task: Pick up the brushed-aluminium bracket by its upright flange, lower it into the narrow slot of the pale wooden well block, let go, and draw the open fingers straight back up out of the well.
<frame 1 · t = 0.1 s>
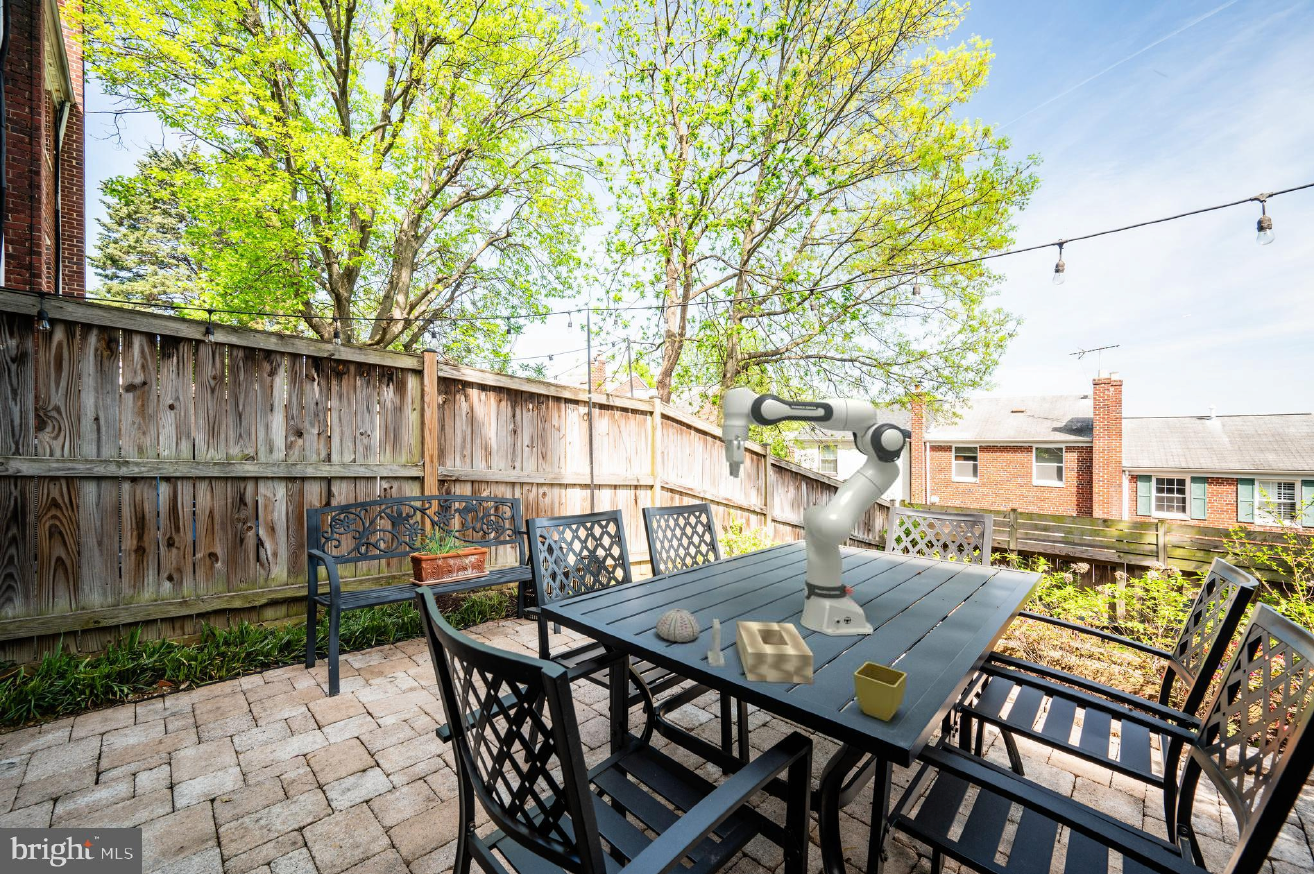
hand: (734, 476, 168), 48 cm above the table, tool pointing down, fingers open, 8 cm apart
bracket: (715, 660, 136), on the table
sea urchin shell: (677, 637, 153), on the table
flower pot: (879, 715, 111), on the table
well block: (771, 662, 136), on the table
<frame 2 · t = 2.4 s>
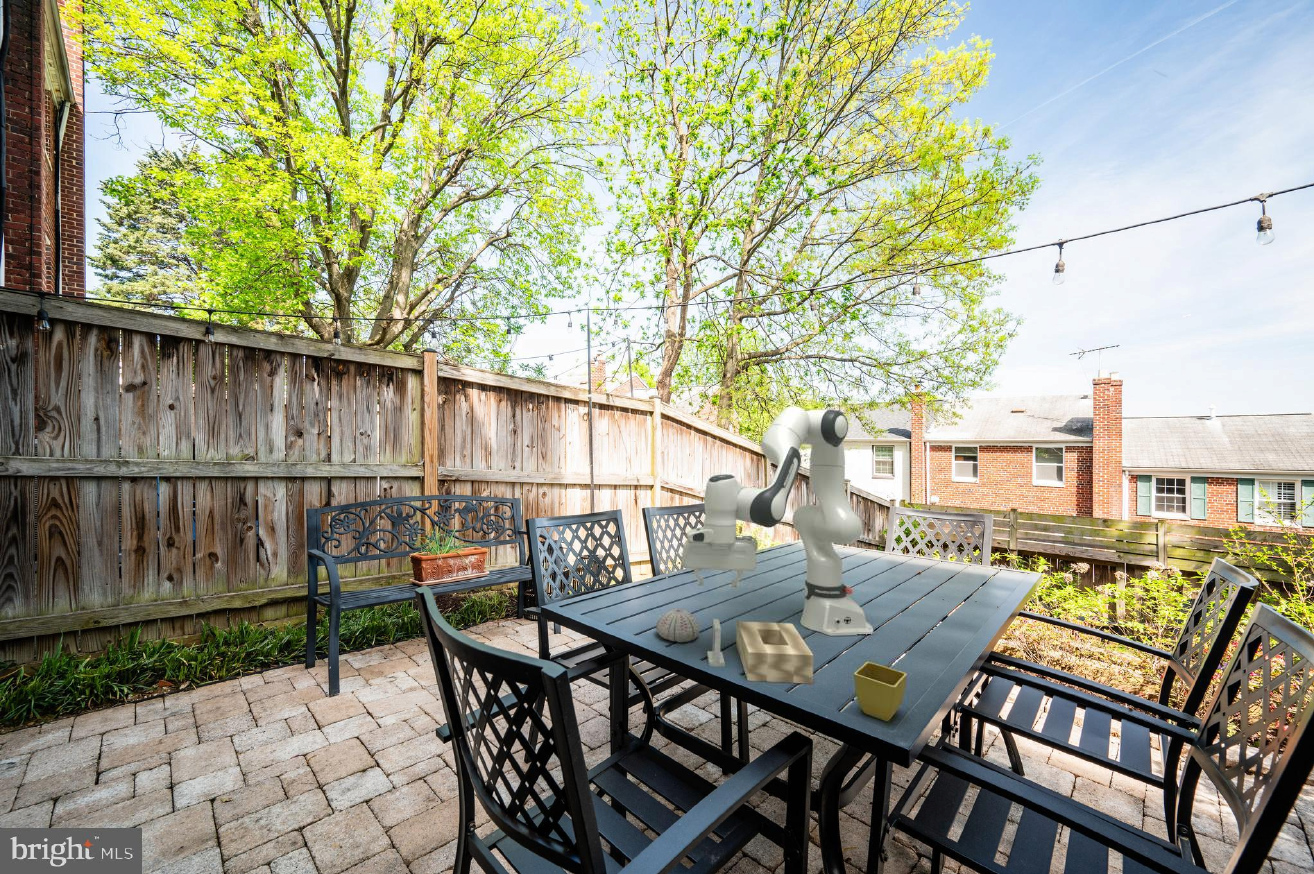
hand: (717, 585, 137), 20 cm above the table, tool pointing down, fingers open, 8 cm apart
nothing on the table moved.
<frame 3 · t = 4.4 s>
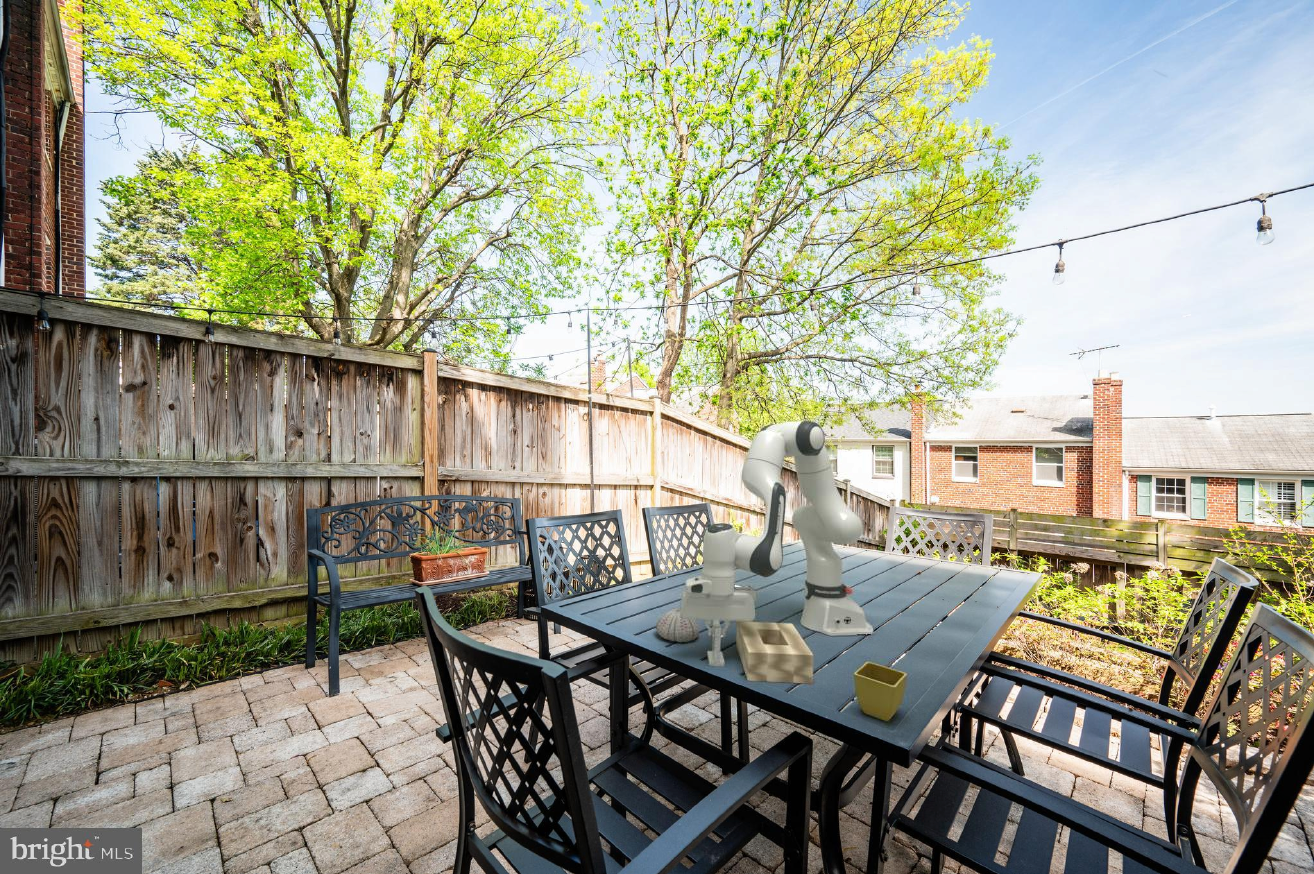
hand: (716, 635, 136), 7 cm above the table, tool pointing down, fingers closed on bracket
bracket: (715, 660, 136), on the table, touching gripper
everything else where it was.
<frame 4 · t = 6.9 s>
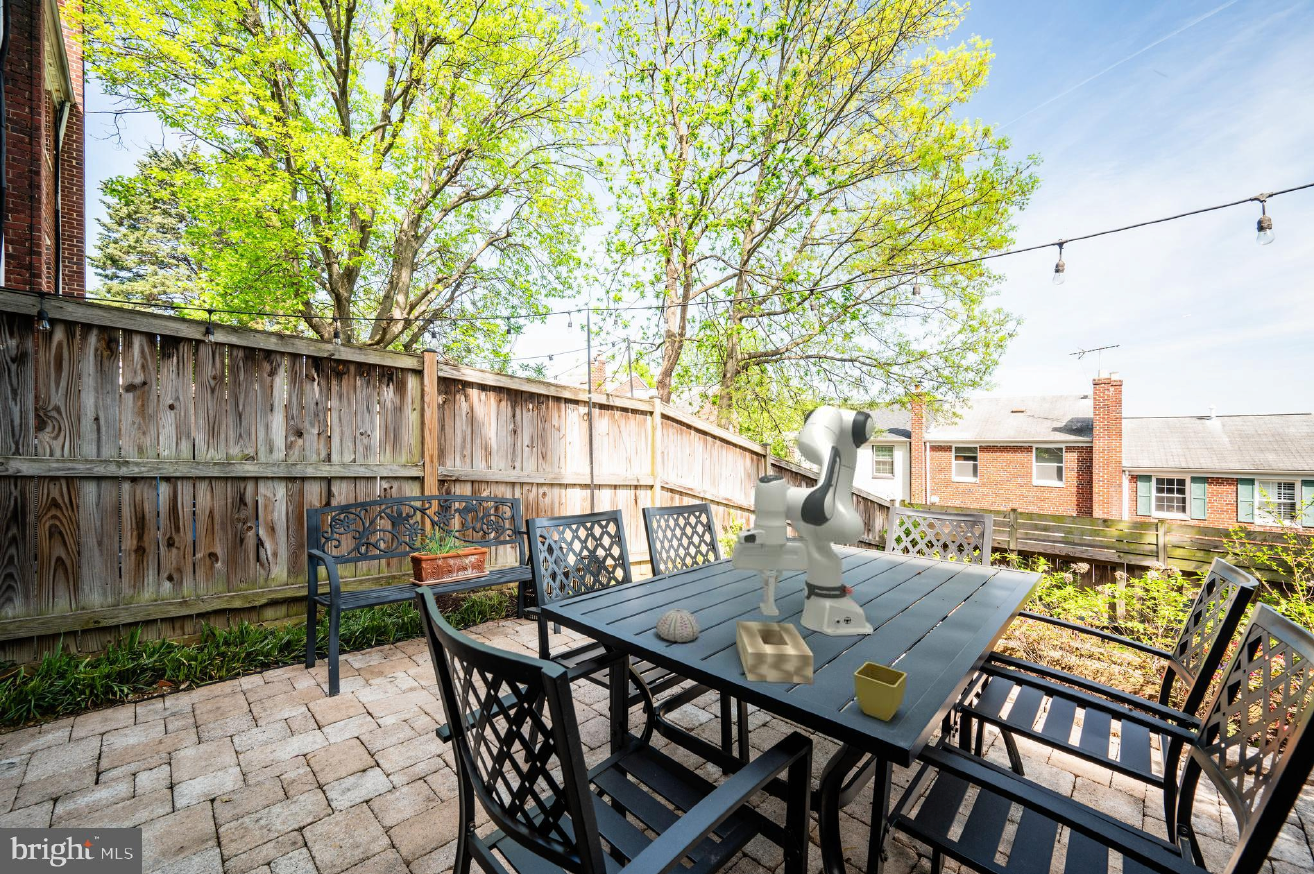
hand: (769, 586, 137), 20 cm above the table, tool pointing down, fingers closed on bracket
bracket: (768, 610, 136), point 14 cm above the table, touching gripper
everything else where it was.
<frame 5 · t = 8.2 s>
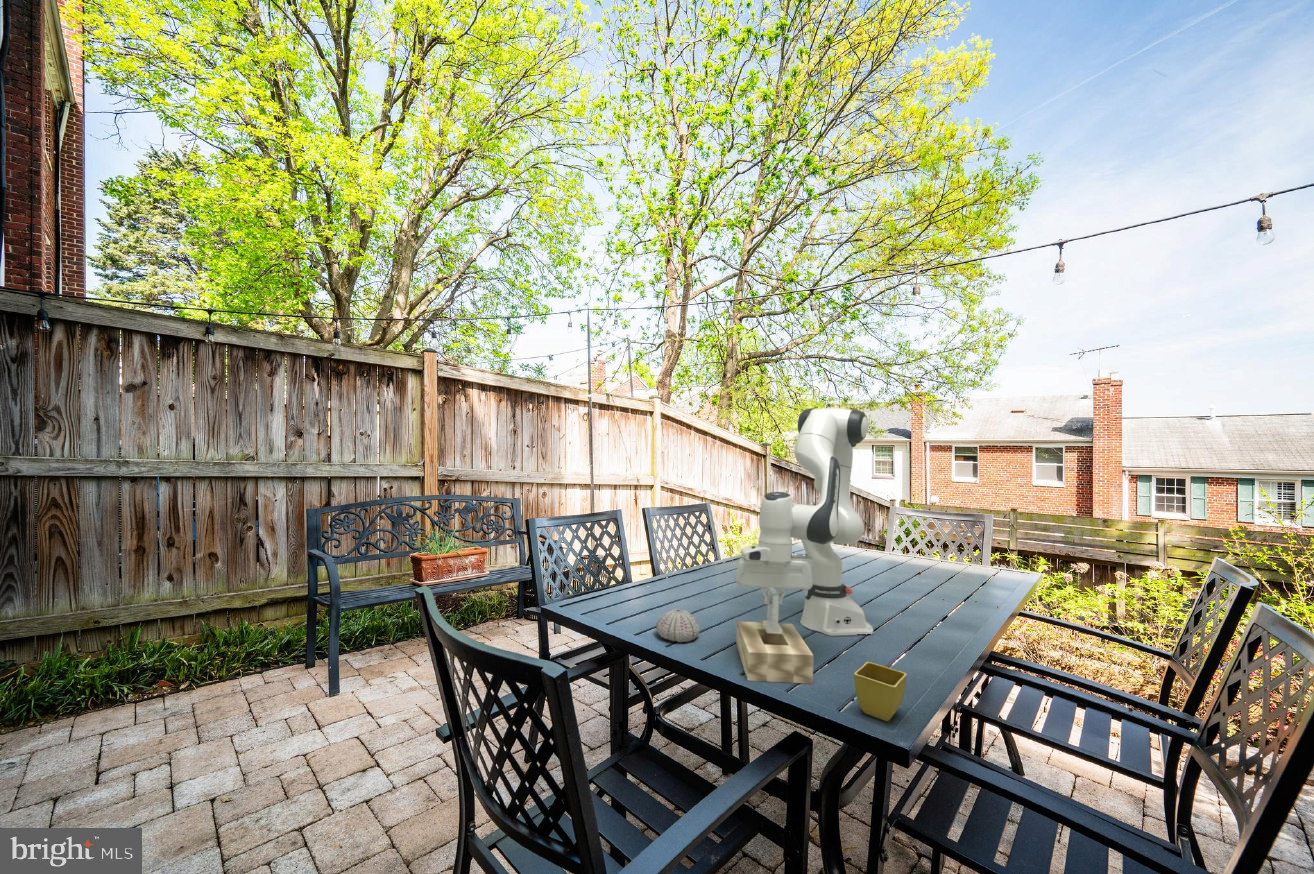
hand: (772, 603, 136), 16 cm above the table, tool pointing down, fingers closed on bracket
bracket: (772, 628, 136), point 9 cm above the table, touching gripper
everything else where it was.
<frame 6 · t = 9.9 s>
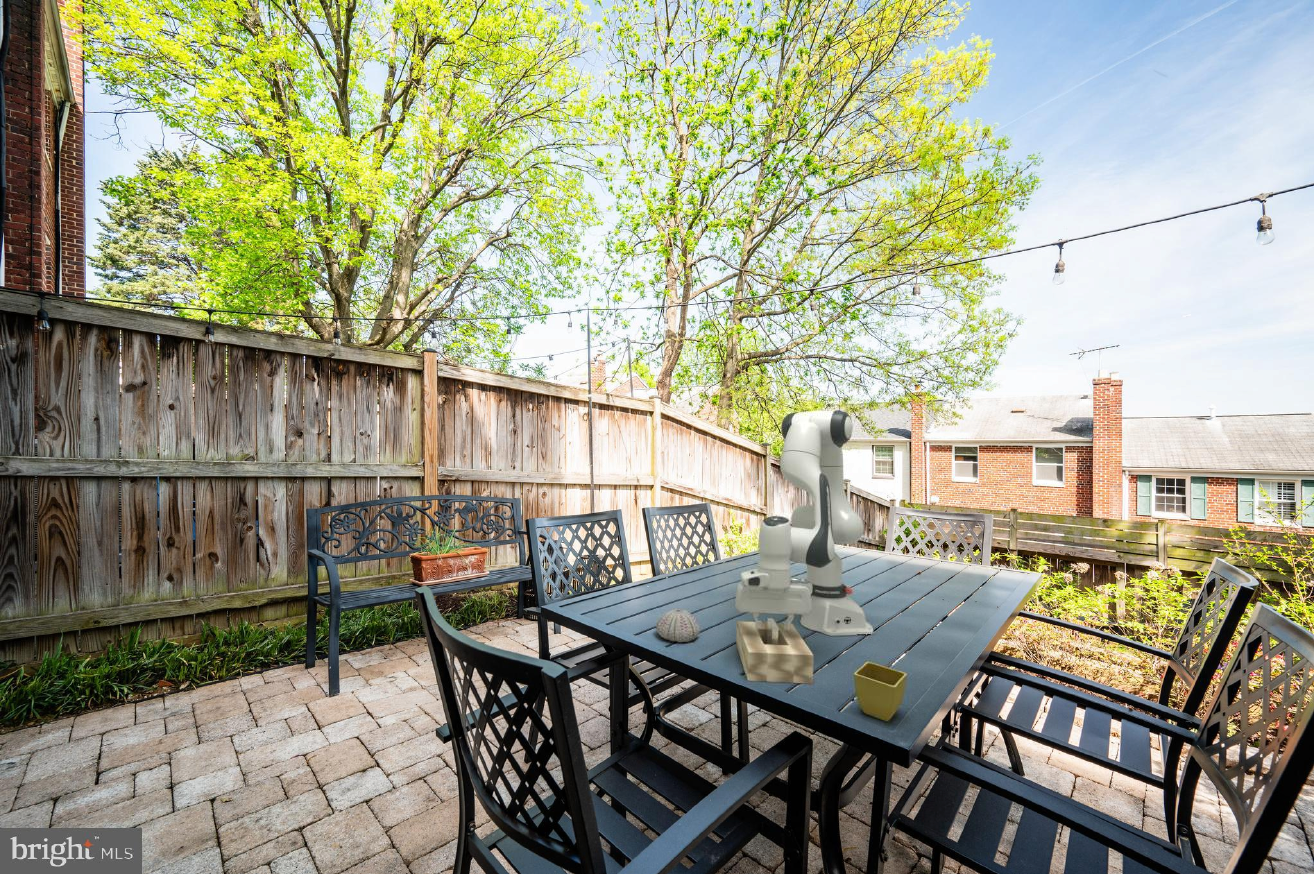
hand: (772, 629, 136), 9 cm above the table, tool pointing down, fingers open, 6 cm apart
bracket: (771, 659, 136), point 1 cm above the table, touching well block
everything else where it was.
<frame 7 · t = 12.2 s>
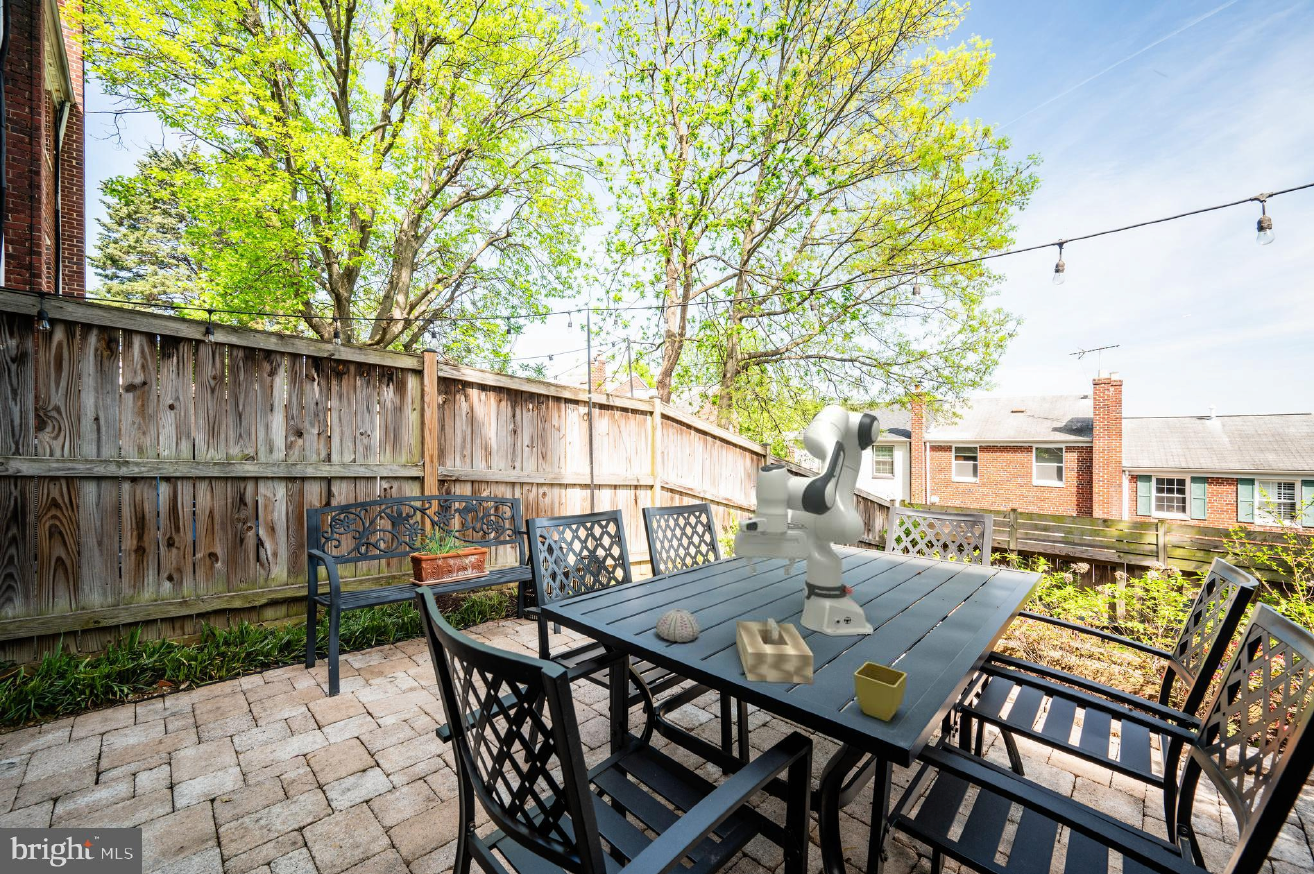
hand: (770, 574, 138), 23 cm above the table, tool pointing down, fingers open, 8 cm apart
nothing on the table moved.
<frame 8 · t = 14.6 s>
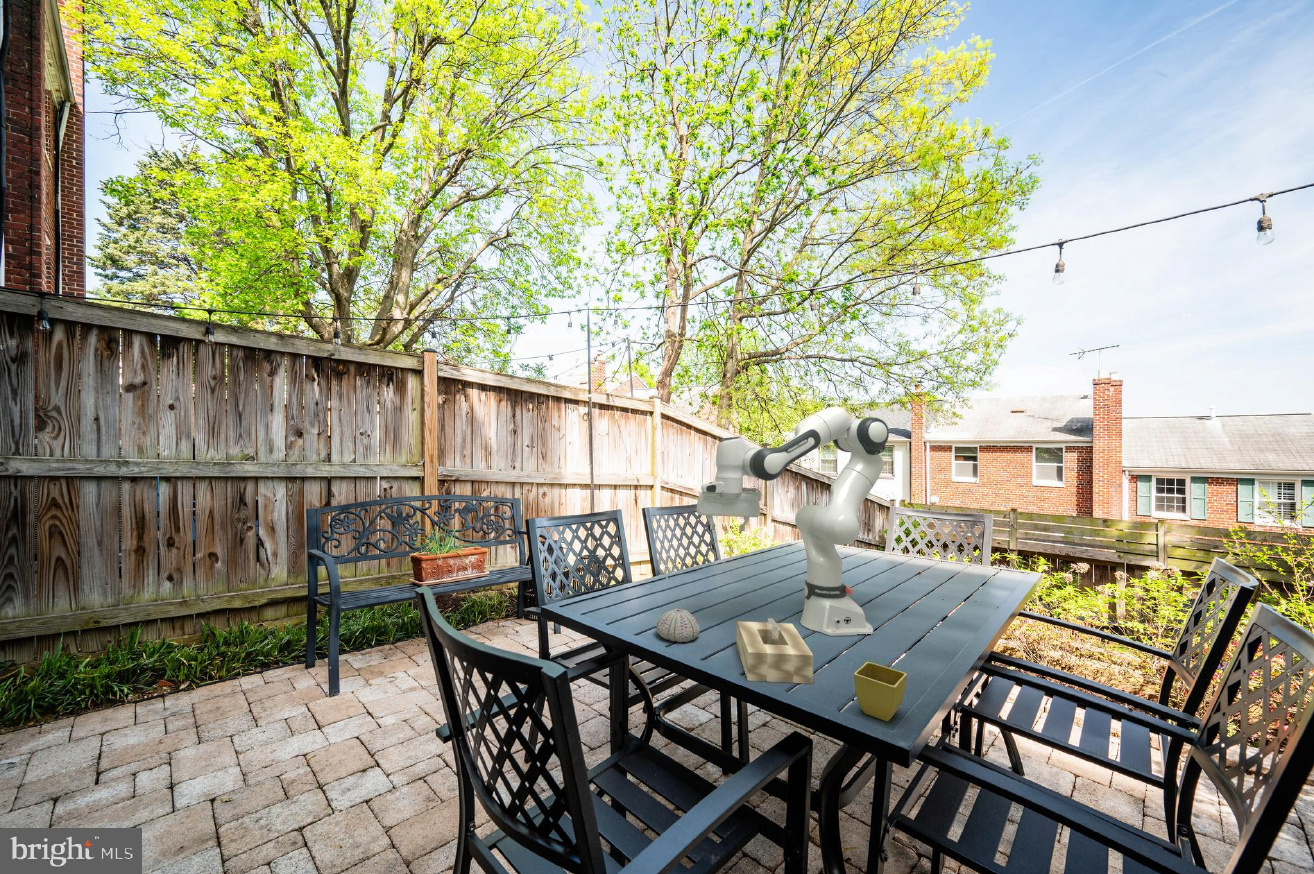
hand: (727, 530, 162), 31 cm above the table, tool pointing down, fingers open, 8 cm apart
nothing on the table moved.
at the end: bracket 0.0 cm off-centre on the well block, point 0.8 cm above the well block's base; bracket tilted 0°; the gripper is holding nothing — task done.
